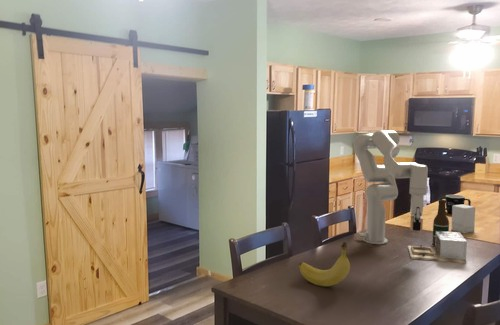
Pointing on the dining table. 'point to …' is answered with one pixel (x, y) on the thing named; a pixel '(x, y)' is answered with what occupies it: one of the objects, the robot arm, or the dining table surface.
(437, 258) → the housing base
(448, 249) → the cover
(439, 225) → the beer bottle
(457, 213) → the supplement box
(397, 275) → the dining table surface
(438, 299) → the dining table surface
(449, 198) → the mug
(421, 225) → the jaw block
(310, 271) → the banana
